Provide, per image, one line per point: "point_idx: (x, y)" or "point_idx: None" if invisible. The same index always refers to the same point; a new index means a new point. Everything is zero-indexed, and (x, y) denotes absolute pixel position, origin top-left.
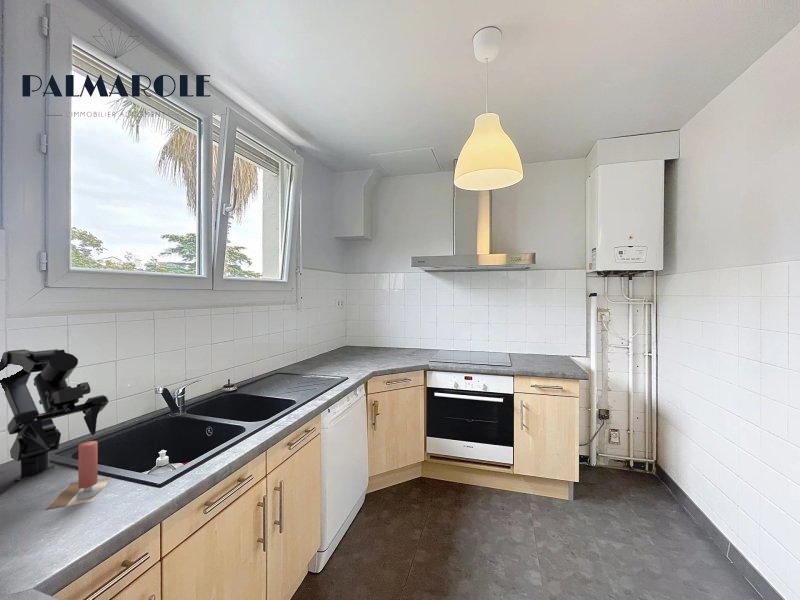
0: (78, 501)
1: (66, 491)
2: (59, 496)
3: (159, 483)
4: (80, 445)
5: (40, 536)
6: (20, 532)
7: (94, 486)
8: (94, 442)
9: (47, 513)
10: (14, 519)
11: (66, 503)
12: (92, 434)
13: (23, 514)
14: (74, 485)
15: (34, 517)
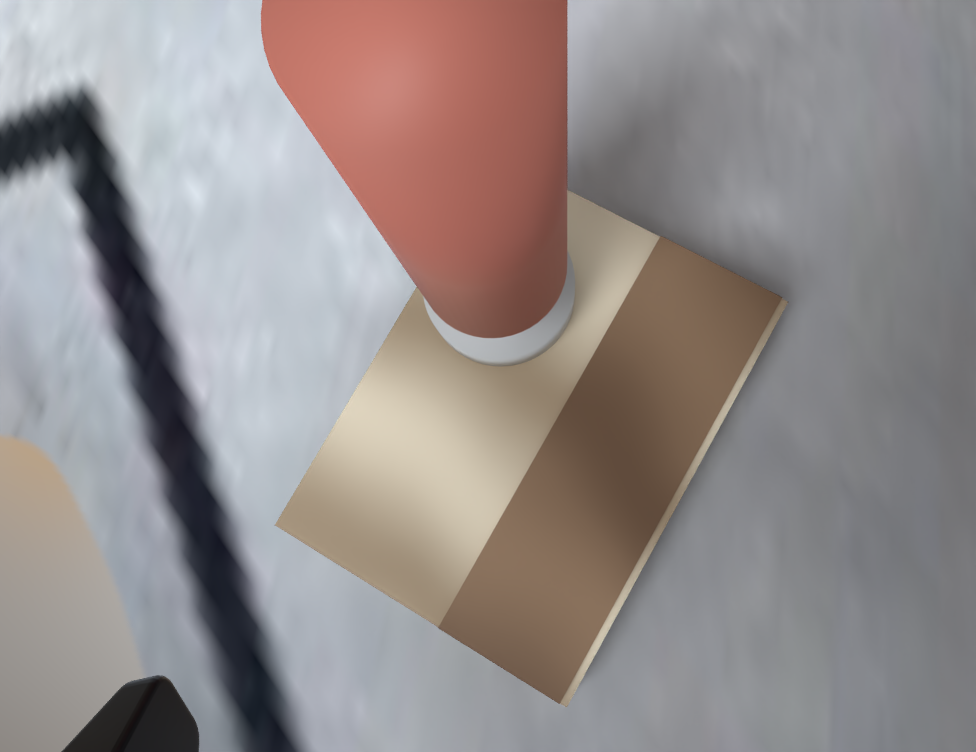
0: (575, 240)
1: (617, 522)
2: (674, 464)
3: (65, 165)
4: (528, 33)
5: (818, 19)
6: (918, 180)
7: (441, 327)
8: (309, 9)
9: None
10: (951, 438)
11: (651, 267)
12: (185, 722)
13: (896, 475)
14: (545, 608)
15: (834, 347)
